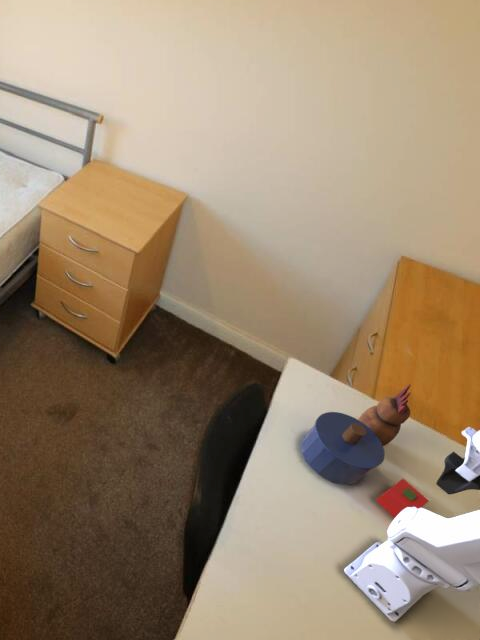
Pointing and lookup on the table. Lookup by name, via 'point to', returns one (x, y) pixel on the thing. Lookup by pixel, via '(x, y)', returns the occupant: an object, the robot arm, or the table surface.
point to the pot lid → (349, 440)
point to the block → (401, 498)
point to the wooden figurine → (387, 416)
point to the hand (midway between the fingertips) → (455, 477)
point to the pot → (328, 462)
